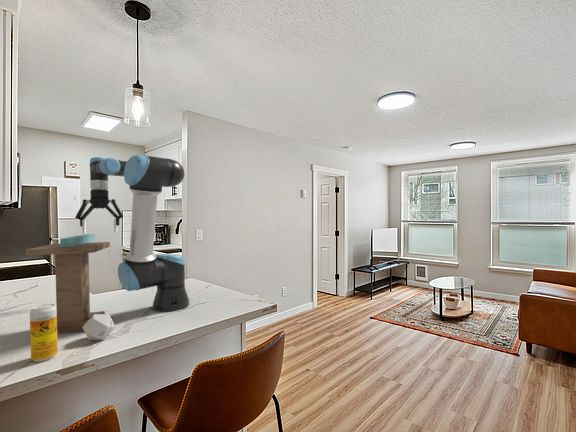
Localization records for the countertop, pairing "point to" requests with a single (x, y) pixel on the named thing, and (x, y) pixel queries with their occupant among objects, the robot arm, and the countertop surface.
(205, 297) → the countertop surface
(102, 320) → the die
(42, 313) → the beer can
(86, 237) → the teal bar
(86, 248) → the walnut pedestal
